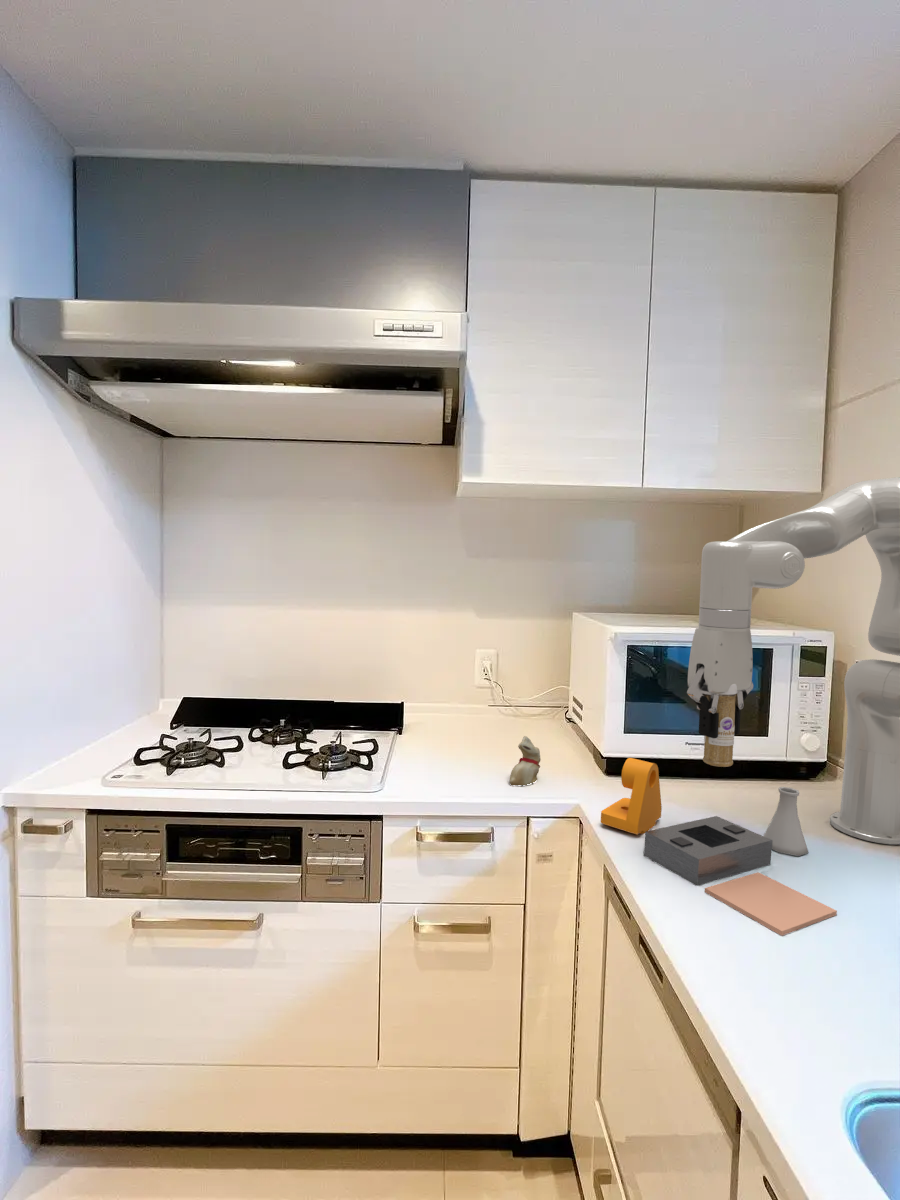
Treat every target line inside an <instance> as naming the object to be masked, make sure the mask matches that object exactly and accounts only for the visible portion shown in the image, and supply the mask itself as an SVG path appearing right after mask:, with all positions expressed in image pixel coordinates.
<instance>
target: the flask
mask: <svg viewBox="0 0 900 1200" xmlns="http://www.w3.org/2000/svg"><path fill="white" fill-rule="evenodd" d="M777 791H778V792H779V801H778V804H777V806H776V807H777V808H776V810H775V812H774V814H773V817H772V819H771V821H770V823H769V825H768V827H767V828H766V830H765V833H764V834H763V836H764V837H766V838H769V839H771V840H772V850H773V851H775V852H778V853H780V854H785V855H790V856H791V855H792V856H796V857H800V856H803V855H806V854H808V853H809V849H808V846H807V842H806V839H805V836H804V833H803V829H802V825H801V822H800V818H799V815H798V814H799V813H798V796H800V791H799V789H796V788H793V787H788V786H787V787H786V786H780V787H778V790H777Z"/></svg>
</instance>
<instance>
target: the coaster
mask: <svg viewBox="0 0 900 1200" xmlns="http://www.w3.org/2000/svg"><path fill="white" fill-rule="evenodd" d="M704 894H707V895H709V896H711V897H713V898H715V899H717V901H720V902H722V903H723V904H725V905H727V906H728V907H730V908H731V909H734V910H735V911H737V912H739V913H741V914H743V915H744V916H746V917H747V918H749V917H750V918H749V919H751V918H752V920H753V921H755V922H756V921H757V922H756V923H758V924H760V925H762V926H764V927H765V928H767V929H769V930H771V931H773V932H774V933H776V934H778V935H780V936H781V937H783V936H785V935H787V934H790V933H793V932H795V931H798V930H800V929H803V928H806V927H809V926H811V925H814V924H817V923H820V922H822V921H824V920H827V919H829V918H833V917H836V916H837V915H838V914H837V913H838V910H836V909H834V908H833V907H830V906H829V905H827V904H824V903H822V902H820V901H818V900H816V899H814V898H812V897H810V896H808V895H805V894H804V893H802V892H800V891H798V890H796V889H793V888H792V887H789V886H788V885H785V884H784V883H781V882H779V881H778V880H775V879H773V878H772V877H768V876H767V875H765V874H763V873H761V872H758V871H757V872H754V873H750V874H747V875H744V876H740V877H738V878H737V877H736V878H734V879H731V880H728V881H724V882H720V883H717V884H714V885H710V886H707V887H704Z"/></svg>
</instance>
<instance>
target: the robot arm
mask: <svg viewBox="0 0 900 1200" xmlns="http://www.w3.org/2000/svg"><path fill="white" fill-rule="evenodd" d="M863 536H865V538H866V540H867V542H868V544H869V546H870V548H871V549H872V551H873V553H874V555H875V557H876V559H877V562H878V565H879V567H880V573H881V575H880V577H881V578H880V584H879V588H878V592H877V596H876V600H875V603H874V606H873V610H872V611H873V612H872V615H871V618H870V622H869V627H868V633H867V636H868V637H867V638H868V642H869V644H870V646H871V647H872V648H873V649H875V650H876V651H878V652H880V653H884V654H888V655H892V656H893V655H894V656H898V657H900V476H899V477H890V478H888V477H887V478H878V479H868V480H862V481H859V482H856V483H853V484H851V485H849V486H848V487H844V488H843V489H842V490H840V491H837V492H836V493H834V494H833V495H831V496H829V497H826V499H824V500H822V501H820V502H818V503H816V504H814V505H813V506H810V507H809V508H806V509H803V510H800V511H797V512H794V513H791V514H788V515H785V516H783V517H780V518H777V519H774V520H771V521H768V522H765V523H762V524H759V525H756V526H753V527H751V528H749V529H746V530H744V531H743V532H741V533H739V534H737V535H735V536H734V537H731V538H730V539H728V540H727V541H722V540H720V541H719V540H718V541H717V540H716V541H710V542H707V543H706V544H705V545H704V546H703V548H702V551H701V563H700V564H701V568H700V586H699V587H700V589H699V605H698V606H699V607H698V608H699V610H698V611H699V613H698V627H697V628H695V629H694V630H695V631H694V634H693V637H692V641H691V645H690V654H689V661H688V669H687V687H688V688H687V691H686V694H687V695H688V696H689V697H690V698H691V699H692V700H693V702H694V703H695V704H696V710H699V717H698V719H699V720H698V734H700V735H702V736H703V737H704V736H707V737H710V738H717V737H718V724H719V713H716V709H717V704H718V699H719V694H720V693H725V692H728V690H729V688H730V686H731V685H732V684H736V686H737V694H735V695H736V697H735V722H734V723H735V724H734V725H735V730H734V736H735V735H739V734H740V729H741V710H742V709H743V708H744V702H745V700H746V698H747V696H748V694H749V693H750V692H751V691H753V689H754V683H753V681H752V680H753V668H754V667H753V664H754V663H753V655H754V654H753V641H752V632H751V623H752V621H751V619H752V606H753V605H752V603H753V602H752V601H753V588H758V589H773V590H774V589H775V590H776V589H785V588H788V587H790V586H792V585H794V584H796V583H797V582H798V581H799V580H800V579H801V577H802V576H803V574H804V572H805V568H806V567H805V566H806V565H805V563H806V562H805V559H813V558H818V557H822V556H827V555H830V554H834V553H837V552H838V551H840V550H842V549H844V548H845V547H847V546H848V545H850V544H852V543H853V542H855V541H857V540H858V539H860V538H861V537H863ZM843 681H844V683H843V684H844V686H843V687H844V695H845V702H846V711H847V712H846V713H847V719H846V720H847V721H846V723H847V725H846V738H845V751H844V760H843V761H844V762H843V772H842V773H843V774H842V786H841V796H840V797H841V800H840V810H839V811H836V812H834V813H832V814H830V817H829V823H830V825H831V826H832V827H833V828H834V829H837V830H838V831H839V832H841V833H844V834H846V835H848V836H851V837H854V838H856V839H860V840H863V841H867V842H871V843H876V844H877V843H878V844H883V845H895V846H896V845H897V846H898V845H900V662H897V661H891V660H883V659H874V658H873V659H864V660H860V661H857V662H855V663H853V664H852V665H851V666H849V668H848V669H847V671H846V673H845V676H844V680H843ZM707 687H708V689H707ZM707 690H708V691H707ZM707 695H710V696H711V698H710V701H709V700H708V699H707Z"/></svg>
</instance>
